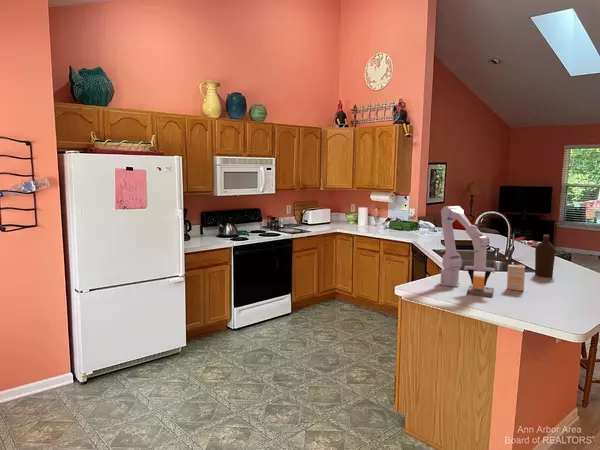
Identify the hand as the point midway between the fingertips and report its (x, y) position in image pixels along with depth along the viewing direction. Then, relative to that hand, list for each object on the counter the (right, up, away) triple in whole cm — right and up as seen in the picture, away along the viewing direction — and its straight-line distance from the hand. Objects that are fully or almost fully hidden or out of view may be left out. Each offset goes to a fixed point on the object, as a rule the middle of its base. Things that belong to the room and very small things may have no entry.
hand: (478, 284), depth 224 cm
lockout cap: (0, -2, 0) cm, 2 cm away
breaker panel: (+2, -4, +1) cm, 5 cm away
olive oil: (+56, 0, +39) cm, 68 cm away
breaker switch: (0, -2, 0) cm, 2 cm away
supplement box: (+23, -4, +8) cm, 25 cm away
